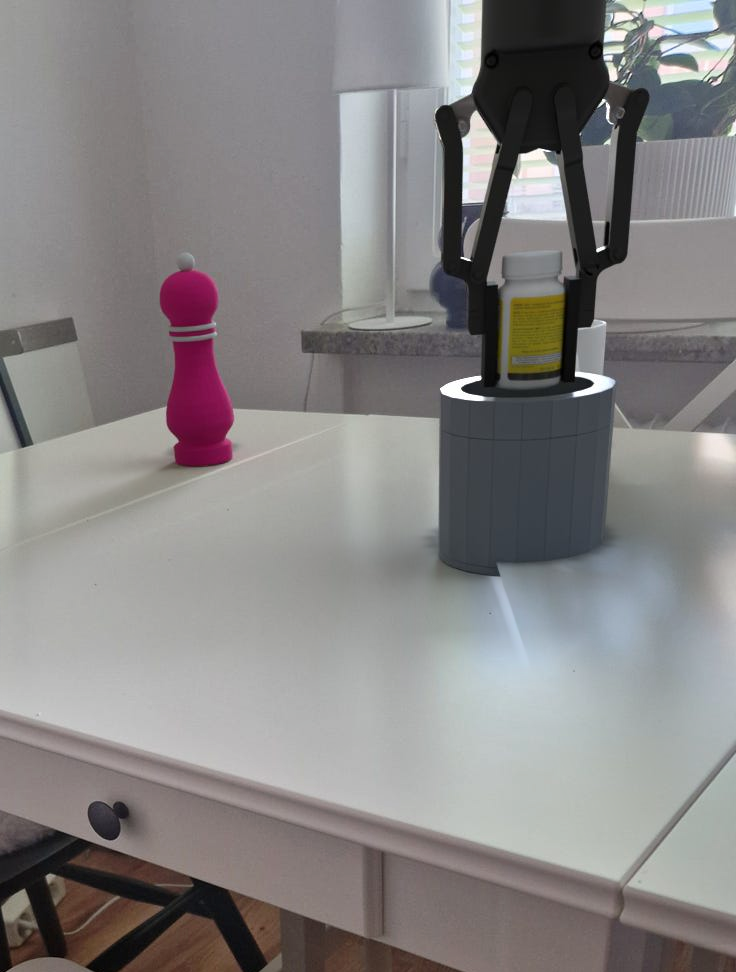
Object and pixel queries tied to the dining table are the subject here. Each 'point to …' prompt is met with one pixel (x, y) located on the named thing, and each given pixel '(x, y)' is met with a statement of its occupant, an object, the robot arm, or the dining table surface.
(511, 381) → the supplement bottle
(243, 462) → the dining table surface
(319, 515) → the dining table surface
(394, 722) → the dining table surface
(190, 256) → the pepper mill
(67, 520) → the dining table surface
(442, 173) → the robot arm
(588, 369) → the mug
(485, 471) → the open container
